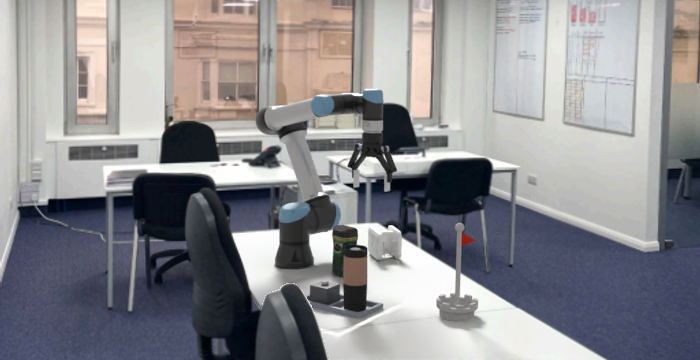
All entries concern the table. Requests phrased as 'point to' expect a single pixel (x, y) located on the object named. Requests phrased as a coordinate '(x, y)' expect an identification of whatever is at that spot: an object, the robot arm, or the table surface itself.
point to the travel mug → (355, 277)
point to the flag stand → (458, 289)
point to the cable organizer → (384, 242)
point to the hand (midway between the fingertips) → (371, 189)
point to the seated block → (325, 292)
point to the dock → (339, 308)
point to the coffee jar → (342, 245)
